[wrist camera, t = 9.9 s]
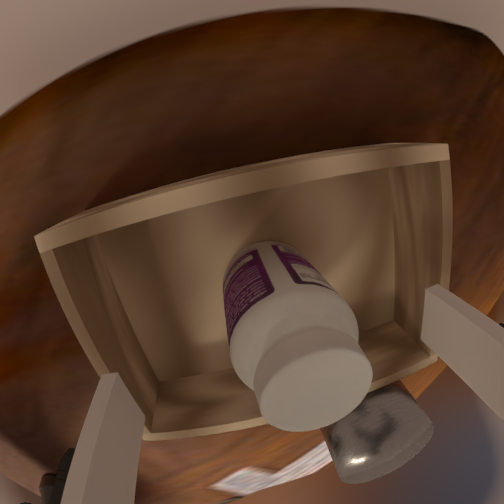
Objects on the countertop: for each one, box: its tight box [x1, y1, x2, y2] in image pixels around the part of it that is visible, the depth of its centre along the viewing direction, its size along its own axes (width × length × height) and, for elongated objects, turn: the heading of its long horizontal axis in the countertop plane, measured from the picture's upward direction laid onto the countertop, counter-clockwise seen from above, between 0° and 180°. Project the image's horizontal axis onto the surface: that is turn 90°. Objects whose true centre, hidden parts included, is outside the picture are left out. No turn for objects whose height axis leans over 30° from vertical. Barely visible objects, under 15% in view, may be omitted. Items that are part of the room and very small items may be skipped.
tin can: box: [320, 379, 434, 484], centre depth 18 cm, size 7×7×9 cm
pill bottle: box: [222, 241, 373, 432], centre depth 13 cm, size 5×5×10 cm
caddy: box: [34, 143, 453, 441], centre depth 16 cm, size 20×14×6 cm
